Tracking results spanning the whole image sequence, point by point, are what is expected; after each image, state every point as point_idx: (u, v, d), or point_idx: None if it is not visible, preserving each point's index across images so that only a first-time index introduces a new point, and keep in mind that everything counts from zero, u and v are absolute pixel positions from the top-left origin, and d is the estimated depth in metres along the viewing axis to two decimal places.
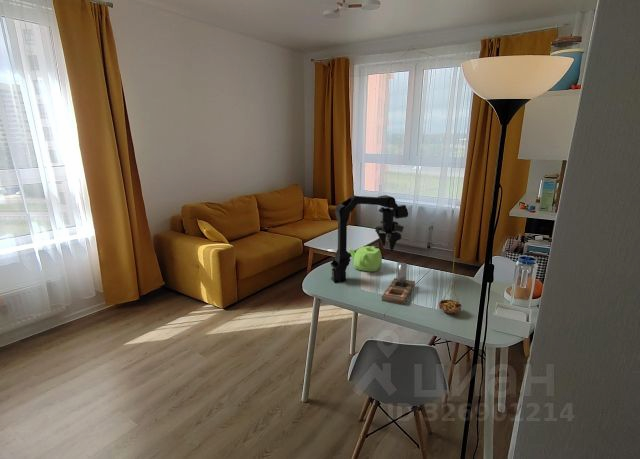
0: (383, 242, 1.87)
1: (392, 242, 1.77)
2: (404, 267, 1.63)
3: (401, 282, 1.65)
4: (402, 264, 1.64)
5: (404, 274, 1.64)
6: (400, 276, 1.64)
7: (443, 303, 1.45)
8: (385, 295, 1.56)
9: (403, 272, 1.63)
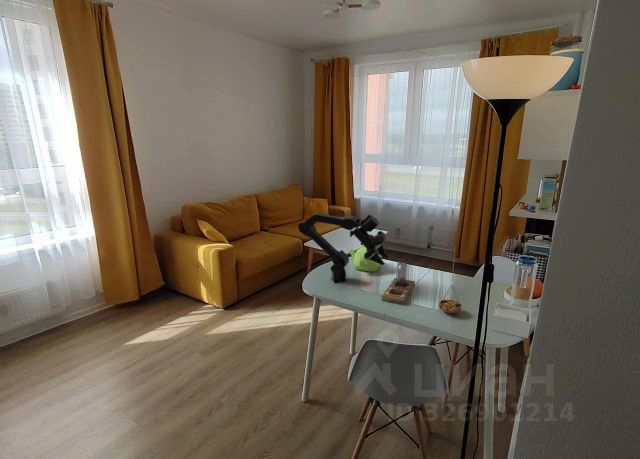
0: (384, 256, 1.71)
1: (375, 258, 1.62)
2: (404, 267, 1.63)
3: (401, 282, 1.65)
4: (402, 264, 1.64)
5: (404, 274, 1.64)
6: (400, 276, 1.64)
7: (443, 303, 1.45)
8: (385, 295, 1.56)
9: (403, 272, 1.63)
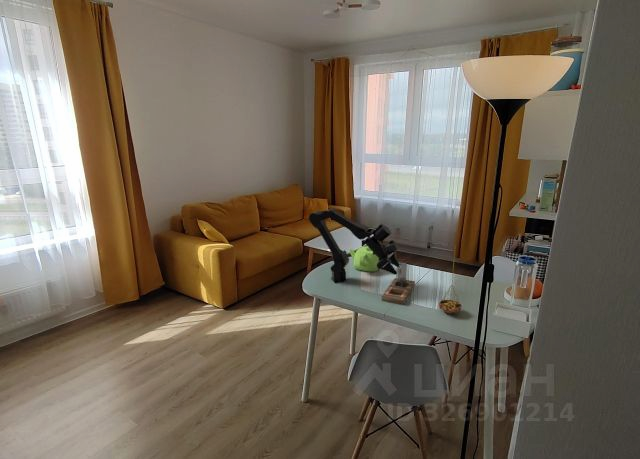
0: (396, 265, 1.70)
1: (388, 267, 1.61)
2: (404, 267, 1.63)
3: (401, 282, 1.65)
4: (402, 264, 1.64)
5: (404, 274, 1.64)
6: (400, 276, 1.64)
7: (443, 303, 1.45)
8: (385, 295, 1.56)
9: (403, 272, 1.63)
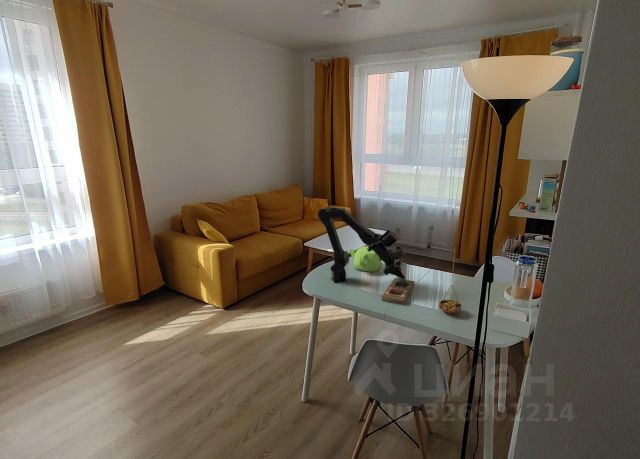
0: None
1: (396, 271, 1.63)
2: (404, 267, 1.63)
3: (401, 282, 1.65)
4: (402, 264, 1.64)
5: (404, 274, 1.64)
6: None
7: (443, 303, 1.45)
8: (385, 295, 1.56)
9: (403, 272, 1.63)
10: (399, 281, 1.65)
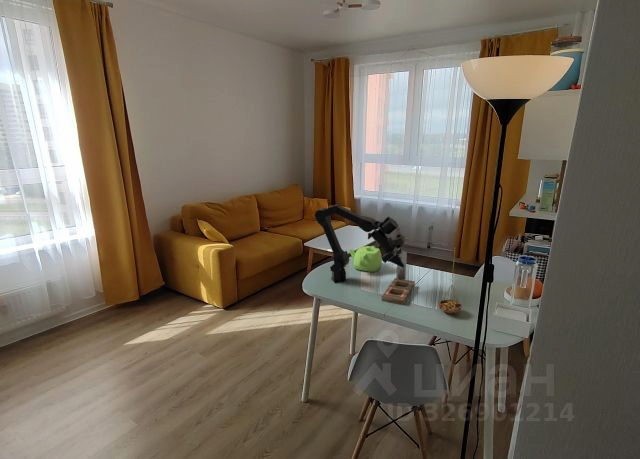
0: None
1: (395, 260, 1.59)
2: (404, 255, 1.59)
3: (400, 271, 1.61)
4: (402, 252, 1.60)
5: (404, 263, 1.60)
6: None
7: (443, 303, 1.45)
8: (385, 295, 1.56)
9: (403, 261, 1.60)
10: (399, 270, 1.62)
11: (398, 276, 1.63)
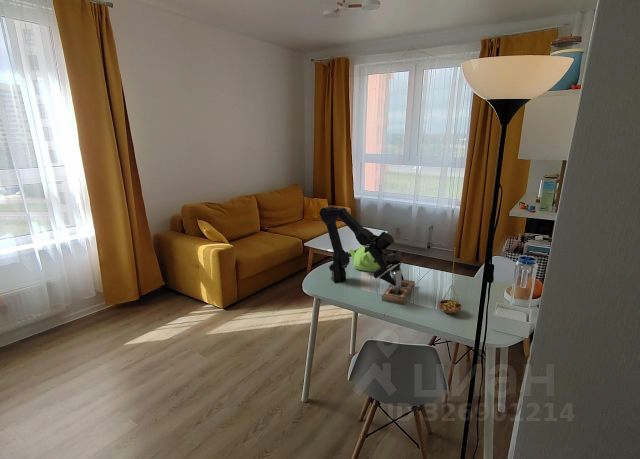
0: None
1: (387, 277, 1.54)
2: (397, 274, 1.54)
3: (394, 289, 1.57)
4: (396, 271, 1.56)
5: (397, 282, 1.55)
6: None
7: (443, 303, 1.45)
8: (385, 295, 1.56)
9: (396, 280, 1.55)
10: (392, 288, 1.57)
11: None
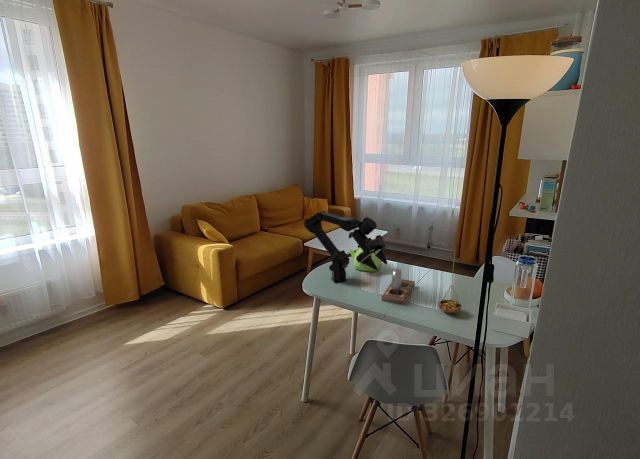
0: (383, 261, 1.64)
1: (368, 262, 1.58)
2: (397, 274, 1.54)
3: (394, 290, 1.57)
4: (396, 271, 1.55)
5: (397, 282, 1.55)
6: (393, 283, 1.56)
7: (443, 303, 1.45)
8: (385, 295, 1.56)
9: (396, 280, 1.55)
10: (392, 289, 1.57)
11: None
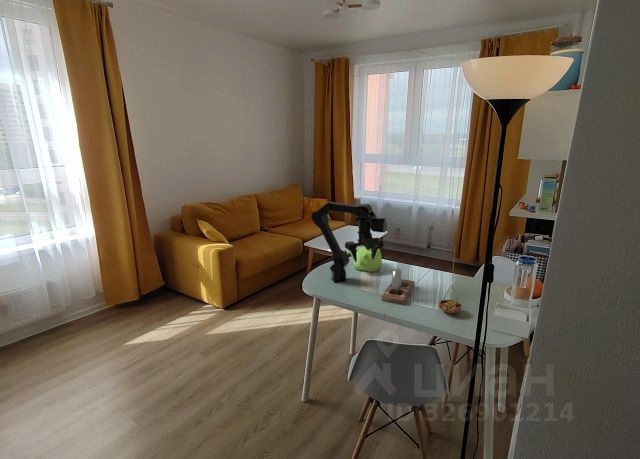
0: (372, 255, 1.71)
1: (353, 252, 1.67)
2: (397, 274, 1.54)
3: (394, 290, 1.57)
4: (396, 271, 1.56)
5: (397, 282, 1.55)
6: (393, 283, 1.56)
7: (443, 303, 1.45)
8: (385, 295, 1.56)
9: (396, 280, 1.55)
10: (392, 288, 1.57)
11: None
